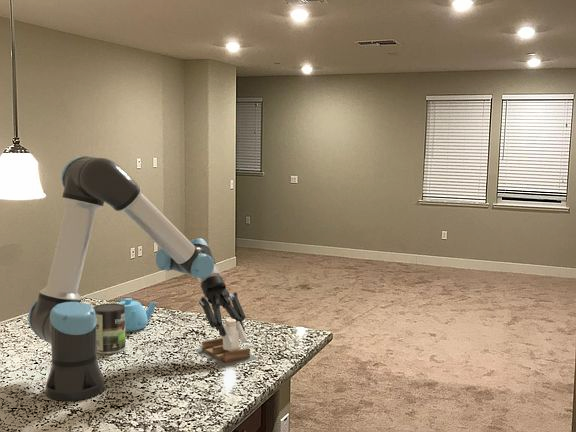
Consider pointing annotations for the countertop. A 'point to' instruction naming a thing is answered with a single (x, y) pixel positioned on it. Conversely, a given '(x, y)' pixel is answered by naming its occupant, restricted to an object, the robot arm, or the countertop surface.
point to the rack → (224, 351)
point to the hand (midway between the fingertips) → (237, 342)
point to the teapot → (136, 314)
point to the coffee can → (110, 328)
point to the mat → (223, 362)
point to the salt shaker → (232, 335)
